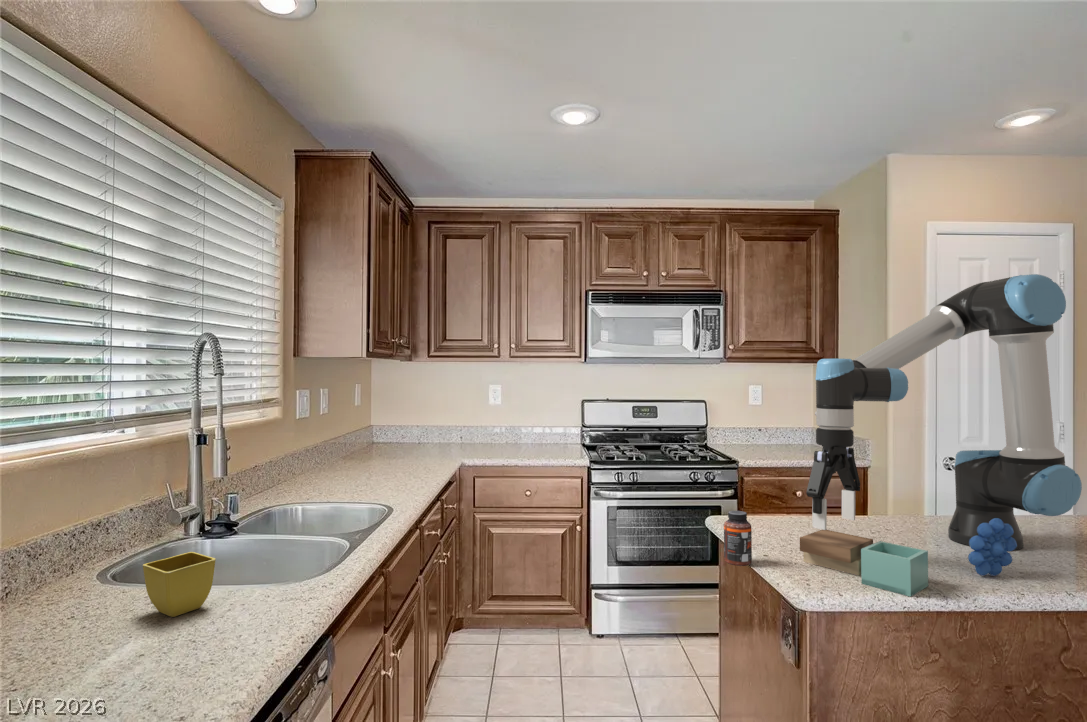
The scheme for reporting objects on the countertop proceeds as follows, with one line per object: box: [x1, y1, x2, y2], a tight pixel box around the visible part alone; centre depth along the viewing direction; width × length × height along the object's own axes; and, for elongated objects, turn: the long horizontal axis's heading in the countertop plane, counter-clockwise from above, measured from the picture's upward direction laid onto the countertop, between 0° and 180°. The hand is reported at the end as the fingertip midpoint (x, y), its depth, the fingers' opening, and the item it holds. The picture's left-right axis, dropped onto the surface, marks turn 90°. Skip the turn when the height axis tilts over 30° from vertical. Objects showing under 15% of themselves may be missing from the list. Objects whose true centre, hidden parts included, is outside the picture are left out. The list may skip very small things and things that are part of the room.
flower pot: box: [142, 551, 216, 618], centre depth 108 cm, size 9×9×9 cm
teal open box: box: [860, 540, 929, 598], centre depth 120 cm, size 9×9×7 cm
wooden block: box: [802, 552, 861, 576], centre depth 132 cm, size 6×12×3 cm, turn 39°
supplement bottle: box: [723, 510, 753, 567], centre depth 134 cm, size 6×6×11 cm
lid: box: [799, 529, 874, 563], centre depth 132 cm, size 11×11×3 cm
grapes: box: [967, 518, 1017, 577], centre depth 126 cm, size 12×7×12 cm, turn 103°
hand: (834, 523), depth 132 cm, fingers open, 13 cm apart
